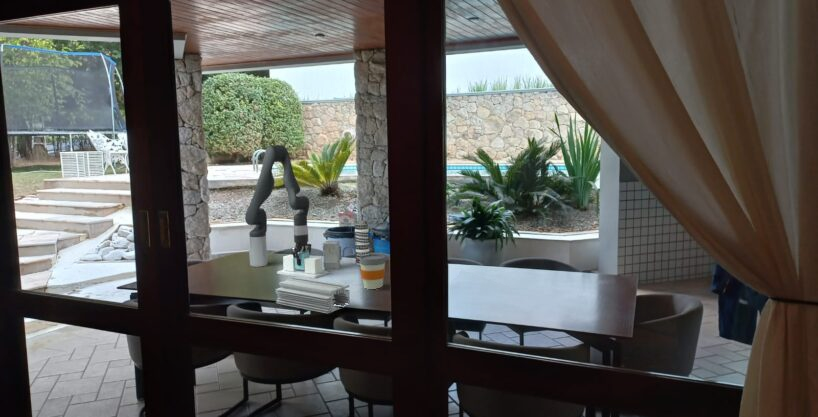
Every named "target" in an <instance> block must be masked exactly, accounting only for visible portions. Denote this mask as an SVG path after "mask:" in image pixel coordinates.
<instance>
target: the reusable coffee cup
mask: <svg viewBox="0 0 818 417" xmlns="http://www.w3.org/2000/svg"><path fill="white" fill-rule="evenodd" d="M386 263H387V262H386V256H385V255H383V254H378V253H377V254H370V255H364V256H361V257H360V265H359V266H360V274H361V279H362V282H363V287H364V289H365V288H367V289H366V290H368V289H376V288H380V287H382V286H383V287H384V278H385V274H386V267H385V265H386ZM383 287H382V288H383ZM376 290H377V289H376Z"/></svg>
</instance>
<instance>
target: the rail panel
mask: <svg viewBox="0 0 818 417" xmlns="http://www.w3.org/2000/svg"><path fill="white" fill-rule="evenodd" d="M282 263H283V266H282V267H283V269H281V270H278V271H276V273H277V275H284V276H291V277H302V278H308V279H317V278H320V277H323V276H326V275H329V274H330V272H329V271H330V270H323V257H319V256H310V257H309V258H305V259H304V264H305V270H302V269H295V258H293V254H288V255H285V256H284V255H283V256H282Z"/></svg>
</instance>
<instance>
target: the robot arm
mask: <svg viewBox="0 0 818 417" xmlns="http://www.w3.org/2000/svg"><path fill="white" fill-rule="evenodd" d="M275 163H281V165H282V168H283V174H282V180H283V181H282V182H283V185H284V187H285V191H286V192H287V197H288V203H289V207H290V208H291V209H292V210H294V211H299V212H298V213H296V214H294V215H293V241H294V243H295V246H294V247H291V253H292V255H293V258H296V259H297V265H298V266H301V259H300V258H301V254H302V252H309V255H310V256H311V252H312V243H309V228H308V213H309V209H310V200H309V198H308V197H307V196H306V195H300V196H297V195H298V194H299V193H300V192H301V187H300V185H299V183H298V180H297V179H296V175H295V172H294V170H293V166H292V165H293V164H292V162H291V158H290V154H289V151H288V149H287V147H286V146H285V145H282V144H271V145H268V146H267V147H266V149H265V151H264V157H263V160H262V165H261V169H260V173H259V176H258V179H257V182H256V186H255V188H254V192H253V195H252V197H251V200H250V203H249V205H248V207H247V210H246V211H245V216H244V218H245V223H246V224H247V226H248V225H249V226H255V227H254V228H253V229H252V230H250V231H249V233H248V234H249V249H248V253H249V265H250V267H254V268H255V267H265V266H268V251H267V250H268V249H267V248H268V246H267V228H268V224H267V222H268V221H267V218H268V217H267V213H266V210H265V209H264V208H261V207H262V205H263V204H264V203H265V202H266V201H267V200H268V199H269V197H270V196H271V194H272V193H273V190H274V188H275V176H274V175H273V166H274V164H275ZM298 252H300V253H298ZM298 254H299V256H298ZM295 255H296V256H295Z"/></svg>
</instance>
